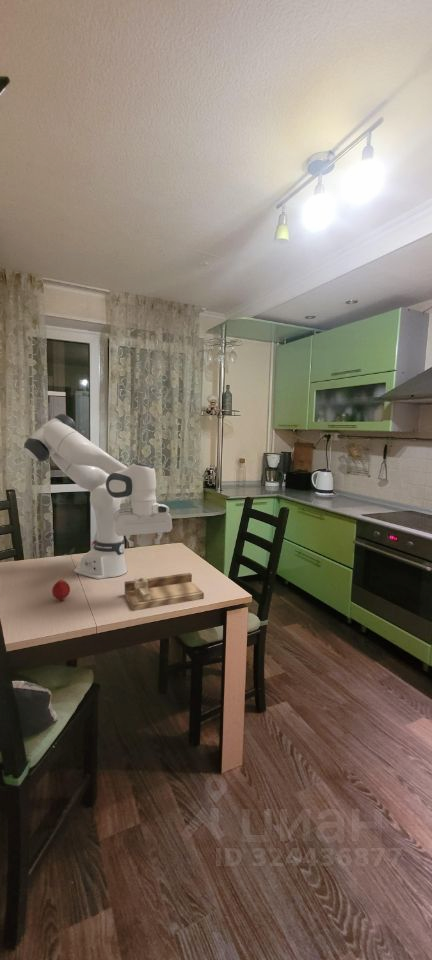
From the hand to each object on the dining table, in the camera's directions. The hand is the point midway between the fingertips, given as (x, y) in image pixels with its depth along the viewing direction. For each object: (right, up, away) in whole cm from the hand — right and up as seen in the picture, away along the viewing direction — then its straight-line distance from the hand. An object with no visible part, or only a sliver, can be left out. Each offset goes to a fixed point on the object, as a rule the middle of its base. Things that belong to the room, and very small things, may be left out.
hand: (144, 545), depth 138 cm
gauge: (0, -18, -2) cm, 18 cm away
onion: (-29, -19, -2) cm, 35 cm away
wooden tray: (+7, -19, +3) cm, 21 cm away
